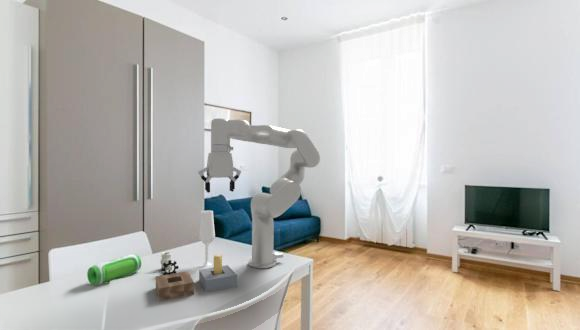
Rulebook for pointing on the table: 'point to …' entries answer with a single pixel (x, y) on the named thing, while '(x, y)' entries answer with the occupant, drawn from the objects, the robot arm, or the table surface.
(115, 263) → the speaker
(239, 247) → the table surface
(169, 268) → the valve
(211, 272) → the socket
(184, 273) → the mount
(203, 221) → the champagne flute
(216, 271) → the pin
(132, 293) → the table surface
